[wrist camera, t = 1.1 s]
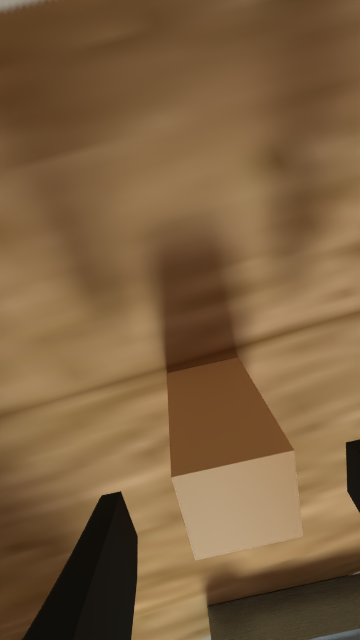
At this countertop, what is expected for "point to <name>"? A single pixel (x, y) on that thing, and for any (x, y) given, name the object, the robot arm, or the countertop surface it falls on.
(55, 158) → the countertop surface
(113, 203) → the countertop surface
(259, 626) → the nested square metal frame
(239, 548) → the tan cardboard-like brick
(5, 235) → the countertop surface
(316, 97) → the countertop surface
